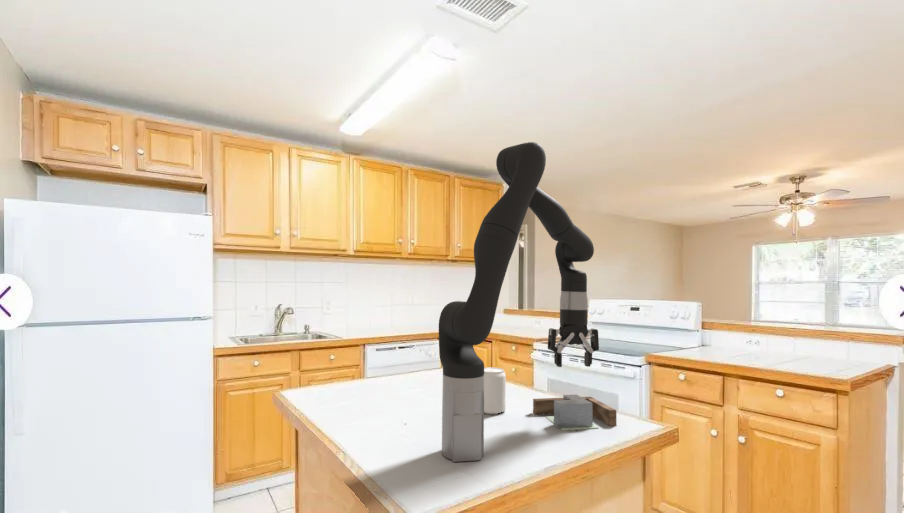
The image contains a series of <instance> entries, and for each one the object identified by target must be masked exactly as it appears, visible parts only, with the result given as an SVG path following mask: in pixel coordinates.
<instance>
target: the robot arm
mask: <svg viewBox="0 0 904 513" xmlns="http://www.w3.org/2000/svg"><path fill="white" fill-rule="evenodd" d="M546 157H547V156H546V151H545V149H544V148H543V146H542V145H541V144H540V143H537V142H535V141H534V142H532V141H528V142H523V143H519V144H516V145H512V146H508V147H505V148H503V149H502V150H500V151H499V153H498V154H497V156H496V160H495V161H496V162H495V164H496V165H495V166H496V170H497V172H498V175H499V176H500V178H501V179H502V180H503V182H504V183H506V185H507V186H508V188H507V189H506V191H505V192H504V193H503V195H502V196H501V197H500V198H499V199H498V200H497V201H496V203H495V204H494V205H493V206H492V207H491V208H490V209H489V210H488V212H487V214H486V215H485V216H484V217H483V219H482V220H481V224H480V226H479V229H478V232H477V235H476V237H475V239H474V242H473V243H474V244H473V258H474V259H473V261H474V268H475V269H474V270H475V272H474V273H475V274H474V275H475V276H474V281H473V283H472V284H473V285H472V286H471V289H470V292H469V295H468V297H467V300H466V301H461V300H460V301H459V300H456V301H451V302H448V304H446V305H445V306H444V307H443V308H442V310H441V312H440V314H439V320H438V350H439V351H438V353H439V354H438V355H439V359H440V363H441V366H442V399H441V400H442V401H441V402H442V403H441V405H442V408H441V413H442V414H441V415H442V416H441V454H442V456H443V457H444V458H447V459H449V460H451V461H452V462H453V463H457V462H458V463H459V462H472V461H481V460H482V457H483V456H484V444H485V442H484V441H485V435H484V434H485V433H484V432H485V428H484V427H485V424H484V423H485V413H484V368H485V364H484V361H483V360H482V359H481V358H480V356H478V354H477V353H476V351H475V349H474V348H475V347H474V346H477V345H478V346H479V345H481V344H482V343H484V342H485V340H487V338H488V337H489V335H490V333H491V330H492V328H493V324H494V322H495V316H496V311H497V308H498V302H499V299H500V294H501V291H502V286H503V283H504V281H505V277H506V273H507V271H508V267H509V264H510V261H511V259H512V255H513V253H514V250H515V248H516V245H517V241H518V240H519V235H520V231H521V229H522V226H523V222H524V220H525V217H526V215H527V212H528V208H529V209H530V210H531V211H532V212H533V214H534V215H535V216H536V217H537V219H538V220H539V221H540V223H541V225H542V226H543V227H544V229H545V231H546V233H547V234H548V235H549V237H550V238H551V239H552V240H554V241H555V242H556V245H555V250H554V253H555V254H554V255H555V258H556V262H557V266H558V270H559V274H560V296H559V327H558V328H549V329H548V334H547V335H548V337H547V349H548V350H549V351H551V352H553V353H554V356H553V357H554V359H553V362H554V364H555V365H556V367H558V368H562V367H563V366H562V365H563V363H562V362H563V353H562V351H563V350H564V349H565V348H566V347H567V346H568V345H569V346H573V345H578V346H581V347H582V348H583V350H584V351H585V352H584V366H585V367H591V366H592V364H593V353H594V352H598V351H599V349H600V343H599V342H600V340H599V330H598V329H596V328H590V329H588V321H589V320H588V318H589V316H588V311H589V310H588V308H589V303H588V302H589V301H588V300H589V299H588V293H587V292H588V288H587V287H588V285H587V284H588V276H587V273H586V272H585V271H582V270H578V269H576V267H575V266H574V263H577V262H578V263H582V262H583V263H584V262H585V263H586V262H588V261H589V260H591V259H592V258H593V256H594V253H595V247H594V243H593V242H592V240H591V238H590V237H589V236H588V235H587V234H586V233H585V232H584V231H583V230H582V229H581V228H580V227H578V226H577V225H576V224H575V223H574V222H573V220H572V219H571V217H570V216H569V215H568V214H569V213H568V212H567V211H566V209H565V208H564V207H563V206H562V205H561V203H560V202H559V201H558V200H556V199H554V198H553V197H552V196H550V195H549V194H547V193H546V192H545V191H544V190H542V189H541V188H540V187H539V184H540V182H541V180H542V177H543V175H544V172H545V168H546V162H547V161H546V160H547V158H546ZM558 335H559V336H560V338H559V340H558V341H557V342H556V340H557V337H558ZM587 336H589V338H590V339H589V340H590V341H588V339H586V338H587ZM589 342H590V343H589ZM556 343H557V344H556Z"/></svg>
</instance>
